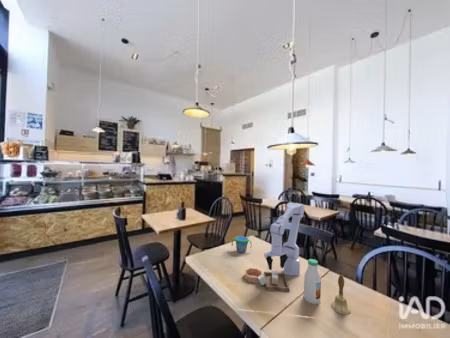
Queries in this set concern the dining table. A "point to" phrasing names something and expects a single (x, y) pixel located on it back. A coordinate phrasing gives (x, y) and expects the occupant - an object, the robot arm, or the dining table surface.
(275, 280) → the beige block
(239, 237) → the snack cup
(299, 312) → the dining table surface
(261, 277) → the white block
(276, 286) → the walnut tray
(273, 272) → the blue-grey block
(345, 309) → the hand bell
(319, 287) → the milk bottle
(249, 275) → the terracotta bowl
